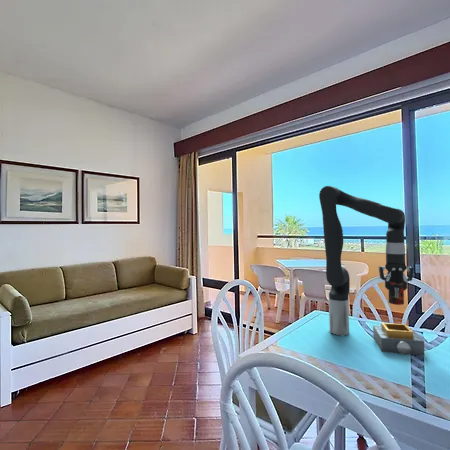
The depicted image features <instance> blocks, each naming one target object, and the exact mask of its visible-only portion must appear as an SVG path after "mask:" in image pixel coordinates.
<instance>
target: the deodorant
mask: <svg viewBox="0 0 450 450" xmlns="http://www.w3.org/2000/svg"><path fill="white" fill-rule="evenodd" d="M387 272H388V271H387ZM390 272H391V277H390V279H389V290H388V303H389V304H391V305H394V306H395V305H397V306H402V305H404V304H405V290H404V279H403V271H399V270H395V271H394V270H390V271H389V272H388V274H389V273H390Z"/></svg>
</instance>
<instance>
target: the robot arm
mask: <svg viewBox="0 0 450 450" xmlns="http://www.w3.org/2000/svg"><path fill="white" fill-rule="evenodd" d="M318 197H319V202H320V208H321V214H322V227H323V240H324V249H325V250H324V251H325V261H326V268H325V269H326V270H325V277H326V281H327V283H328V284H329V285H330V286H331V287H330V291H329V293H328V302H329V303H328V309H329V311H328V315H329V317H328V318H329V319H328V320H329V321H328V323H329V324H328V325H329V333H330V334H331V333H333V334H332V335H335V334H336V336H342V335H343V336H348V335H349V334H350V317H349V315H350V314H349V313H350V311H349V309H350V308H349V306H350V305H349V297H350V296H349V295H350V291H351V290H350V288H351V287H350V285H351V283H350V274H349V273H350V272H348V270H347V269H346V267H345V268H344V266H342V253H343V249H344V233H343V231H344V230H343V227H342V224H341V221H340V218H339V216H338V212H337V206H343V207H346V208H349V209H352V210H353V211H355V212H358V213H361V214H363V215H366V216H368V217H371V218H375V219H378V220H381V221H382V222H385V223H386V224H387V231H386V233H385V237H386V238H385V239H386V244H385V266H384V265H383V266H381V265H379V266H378V267H377V268H378V273H379V278H380V280H382V281H384V287H385V289H386V290H388V291H389V279H390V277H391V272H390V273H389V274H388V272H389V271H390V270H394V271H395V270H399V271H403V279H404V291H406V290H407V289H408V282H411V281H413V277H414V269H415V268H414V267H412V266H407V265H406V246H405V223H406V215H405V212H404V211H403V210H402V209H400V208H394V207H391V206H387V205H384V204H382V203H380V202H376V201H374V200H370V199H366V198H363V197H359V196H355V195H351V194H350V193H346V192H344V191H342V190H341V189H339V188H338V187H335V186H333V185H325V186H323V187H322V188H321V189H320V191H319V194H318ZM385 270H386V271H387V273H386V274H384V271H385ZM405 271H407V277H406V274H405Z"/></svg>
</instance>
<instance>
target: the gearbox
mask: <svg viewBox="0 0 450 450" xmlns="http://www.w3.org/2000/svg"><path fill="white" fill-rule="evenodd" d="M372 326H373V327H372V330H373V331H372V332H373V333H372V334H373V340H374V341H375V343H376V345H377V346H378V348H379V350H380V351H381V353H390V354H392V353H393V354H400V355H414V356H421V357H422V356H423V357H424V356H425V341H424V339H423V338H422V337H420V336H419V334H417V332H416V331H414V330H413V328H411V327H409V326H408V325H407V324H405V323H393V322H392V323H390V322H381V324H380V325H372Z"/></svg>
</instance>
